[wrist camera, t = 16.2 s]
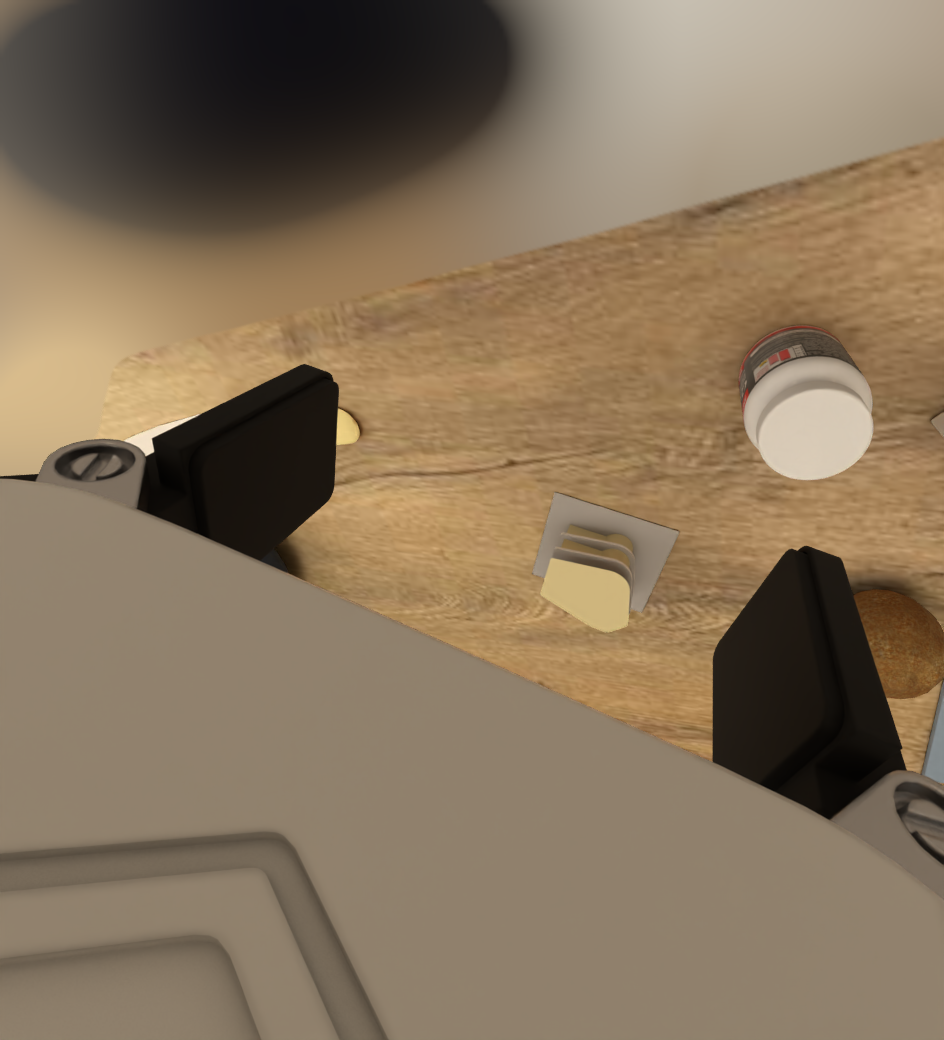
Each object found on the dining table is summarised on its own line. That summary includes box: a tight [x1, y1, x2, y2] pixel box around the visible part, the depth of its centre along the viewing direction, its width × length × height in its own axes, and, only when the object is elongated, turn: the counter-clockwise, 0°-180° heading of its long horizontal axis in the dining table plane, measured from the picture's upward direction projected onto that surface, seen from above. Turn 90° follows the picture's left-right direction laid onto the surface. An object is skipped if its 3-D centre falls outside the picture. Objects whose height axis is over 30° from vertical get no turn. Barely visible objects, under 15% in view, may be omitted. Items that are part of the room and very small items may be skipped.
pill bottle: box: [739, 325, 873, 480], centre depth 29 cm, size 6×6×10 cm
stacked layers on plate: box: [532, 492, 679, 633], centre depth 43 cm, size 10×9×6 cm
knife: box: [124, 409, 360, 456], centre depth 53 cm, size 1×33×4 cm
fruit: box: [853, 589, 944, 699], centre depth 36 cm, size 6×6×8 cm
